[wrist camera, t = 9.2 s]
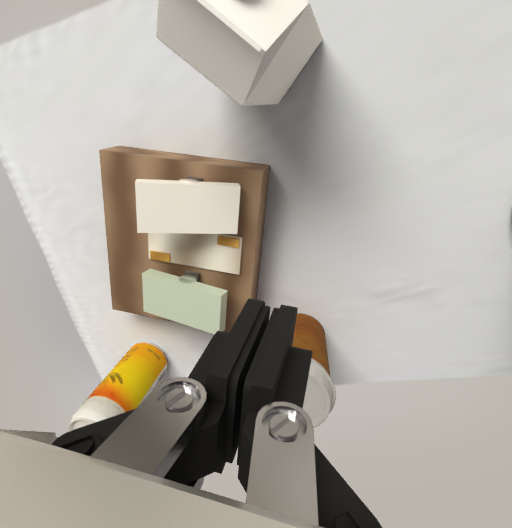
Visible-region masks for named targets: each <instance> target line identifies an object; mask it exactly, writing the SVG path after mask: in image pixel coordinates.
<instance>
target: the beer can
mask: <svg viewBox="0 0 512 528" xmlns="http://www.w3.org/2000/svg"><path fill="white" fill-rule="evenodd" d="M166 369H167V360H166V356H165V354H164V352H163V351H162V350H161V349H160V348H159V347H158V346H156V345H154V344H152V343H138V344H135V345H134V346H133V347H132V348H131V349H130V350H129V351H128V352H127V353H126V354H125V356H124V357H123V358H122V359H121V360H120V361H119V363H118V364H117V365H116V366H115V367H114V368H113V369H112V371H111V372H110V373H109V374H108V375H107V376H106V378H105V379H104V380H103V381H102V382H101V383H100V384H99V386H98V387H97V388H96V389H95V390H94V391H93V393H92V394H91V395H90V396H89V397H88V399H86V401H85V402H84V403H83V404H82V405H81V406H80V408H79V409H78V410H77V411H76V412H75V413H74V415H73V416H72V420H71V423H70V425H69V428H68V432H70V431H72V430H74V429H77V428H80V427H83V426H86V425H89V424H92V423H95V422H98V421H101V420H104V419H107V418H110V417H113V416H116V415H119V414H122V413H125V412H128V411H131V410H133V409H136V408H137V407H138V406H139V405H140V404H141V403H142V402H143V401H144V400H145V399H146V397H147V396H148V395H149V394H150V393H151V392H152V391H153V389H154V388H155V386H156V385H157V383H158V382H159V380H160V379H161V377H162V376H163V374H164V373H165V371H166Z"/></svg>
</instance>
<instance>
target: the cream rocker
mask: <svg viewBox="0 0 512 528" xmlns="http://www.w3.org/2000/svg"><path fill="white" fill-rule="evenodd" d="M240 189H241V187H240V185H239V183H222V182H199V181H198V180H194V179H180V180H179V181H176V180H152V179H136V181H135V193H136V214H137V233H191V234H237V231H238V217H239V203H240Z"/></svg>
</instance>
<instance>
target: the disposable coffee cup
mask: <svg viewBox="0 0 512 528" xmlns="http://www.w3.org/2000/svg"><path fill="white" fill-rule="evenodd" d="M292 347H297V348H302V349H306V350H311V351H313V353H312V359H311V365H310V370H309V376H308V382H307V387H306V393H305V398H304V404H303V410H304V411H305V412H307V413H308V415H309V416H310V418H311V420H312V423H313V428H315V427H317V426H319V425H320V424H321V423H322V422H324V420H325V419H326V418H327V416H328V414H329V413H330V412H331V411H332V409H333V406H334V404H335V400H336V391H335V386H334V384H333V381H332V379H331V377H330V372H329V365H328V356H327V349H326V341H325V332H324V329H323V327H322V325H321V324H320V323H319V322H318V321H317V320H316V319H314V318H313V317H311V316H309V315H306V314H297V317H296V324H295V331H294V337H293V344H292Z"/></svg>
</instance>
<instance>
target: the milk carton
mask: <svg viewBox="0 0 512 528" xmlns="http://www.w3.org/2000/svg"><path fill="white" fill-rule="evenodd" d="M156 37H157V38H158V39H159V40H160V41H161V42H162V43H164V44H165V45H166V46H167V47H168V48H170V49H171V50H172V51H173V52H175V53H176V54H177V55H178V56H180V57H181V58H182V59H183V60H184V61H186V62H187V63H188V64H189V65H191V66H192V67H193V68H194V69H196V70H197V71H198V72H199V73H201V74H202V75H203V76H204V77H205V78H207V79H208V80H209V81H210V82H212V83H213V84H214V85H215V86H217V87H218V88H219V89H220V90H222V91H223V92H224V93H225V94H226V95H228V96H229V97H230V98H231V99H233V100H234V101H235V102H236V103H238V104H239V105H241V106H242V107H243V106H255V105H271V104H279V102H280V101H281V99H282V98H283V97H284V95H285V94H286V92H287V91H288V89H289V88H290V86H291V85H292V83H293V82H294V80H295V79H296V78H297V76H298V75H299V73H300V72H301V70H302V69H303V67H304V66H305V64H306V63H307V61H308V60H309V59H310V57H311V56H312V54H313V53H314V51H315V50H316V48H317V47H318V45H319V44H320V43H321V41H322V39H323V38H322V35H321V33H320V30H319V27H318V25H317V22H316V19H315V17H314V14H313V11H312V9H311V6H310V4H309V2H308V1H307V0H159V4H158V20H157V36H156Z"/></svg>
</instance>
